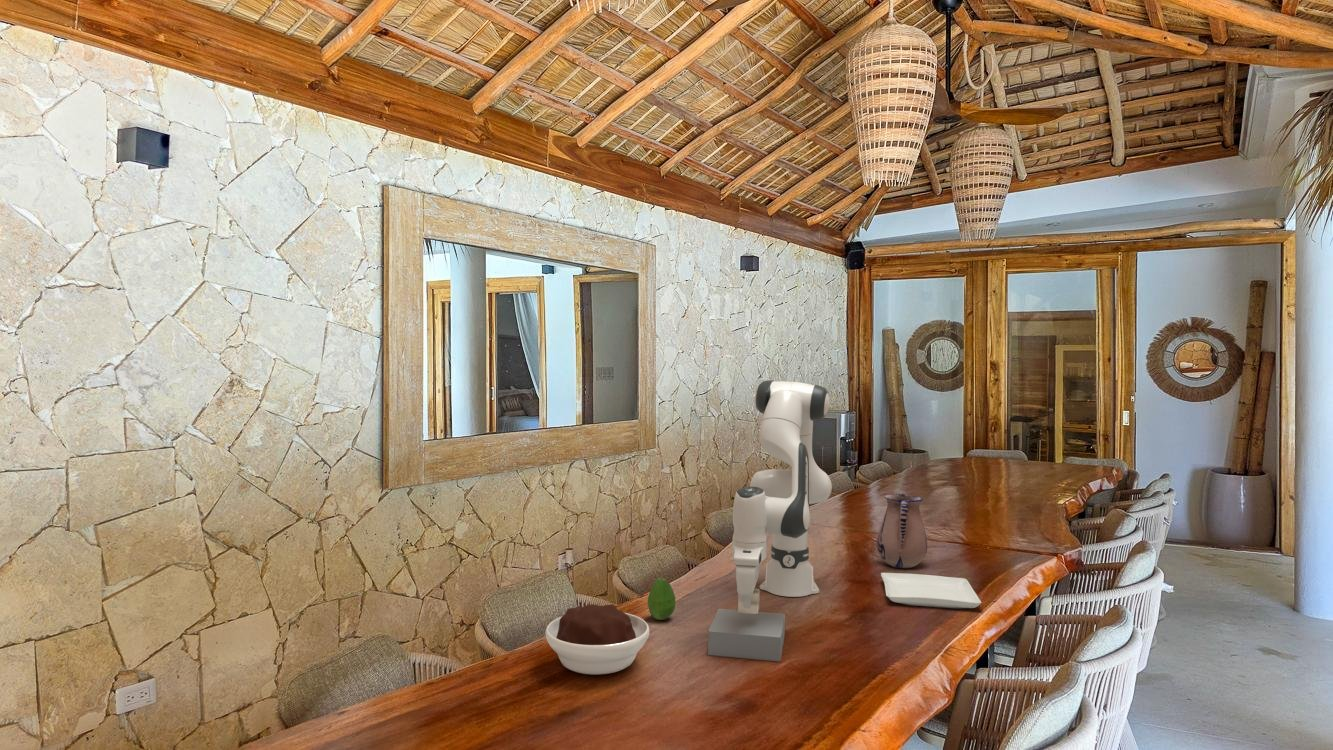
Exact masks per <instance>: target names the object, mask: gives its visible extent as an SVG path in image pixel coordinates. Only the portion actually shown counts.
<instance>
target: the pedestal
mask: <svg viewBox="0 0 1333 750" xmlns="http://www.w3.org/2000/svg"><path fill="white" fill-rule="evenodd" d="M785 628H786V613H778V612H777V613H776V612H765V611H764V612H763V611H758V614H750V613H738V609H730V608H729V609H726V608H718V609H717V611H716V614H715V616H714V618H713V620H712V622H711V625H710V626H709V629H708V632H707V633H708V634H707V637H708V639H707V641H708V642H707V649H708V650H707V655H708V656H716V657H726V658H727V657H728V658H737V659H738V658H739V659H750V660H760V661H769V662H771V661H772V662H781V660H782V659H781V658H782V655H783V647H784V642H785V637H786V635H785V634H786V633H785V631H786V629H785Z"/></svg>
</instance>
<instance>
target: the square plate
mask: <svg viewBox="0 0 1333 750" xmlns="http://www.w3.org/2000/svg"><path fill="white" fill-rule="evenodd" d="M880 576H881V579H882V581H883V584H884V591H885V596H886V597H887V598H888V599H889V600H890V601H891V602H894V603H898V604H902V605H908V606H916V607H918V606H920V607H931V608H932V607H934V608H947V609H974V608H977V607H979V605H981V604H982V601H981V599H980V598H979V596H978V594H977V593H976V591H975V589H973V587H972V585H971V584H970V582H969V581H968V579H966V578H964V577H951V576H941V575H934V574H933V575H931V574H918V573H904V572H903V573H902V572H901V573H898V572H896V573H894V572H880Z"/></svg>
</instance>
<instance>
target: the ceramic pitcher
mask: <svg viewBox="0 0 1333 750" xmlns="http://www.w3.org/2000/svg"><path fill="white" fill-rule="evenodd" d="M884 498H885V499H886V502H887V503H886V504H887V506H886V511H885V513H884V516H883V519H882V521H881V525H880V527H879V530H878V533H877V536H876V549H877V552H878V553H879V555H880V558H881V559H882V561H883V562H884V563H886V564H887V565H888V566H891V567H893V568H897V569H898V568H899V569H911V568H914V567H916V566H918V565H920V563H922V561H923V560H924V559H925V557H926V555H927V552H928V537H927V534H926V529H925V525H924V523H923V522H924V521H923V518H922V514H921V511H920V505H921V502H922V501H923V500H924V499H923V498H922V497H920V496H916V495H907V494H905V493H898V494H885V495H884Z"/></svg>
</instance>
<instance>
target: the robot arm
mask: <svg viewBox="0 0 1333 750" xmlns="http://www.w3.org/2000/svg"><path fill="white" fill-rule="evenodd" d="M830 401H831V400H830V397H829V391H828V390H827V389H826V387H824V386H822V385H818V384H810V383H806V382H805V383H804V382H801V381H783V380H782V381H780V380H779V381H777V380H776V381H774V380H773V379H772V380H771V379H769V380H763V381H762V382H760V383H759V385H758V386H757V389H756V390H755V396H754V403H755V407H756V410H758V412H759V413H761V414H763V416H762V419H761V424H760V428H759V438H758V439H759V443H760V444H761V446H762V448H763V450H765V452H766V453H768V454H769V455H770V456H771V457H773V458H775V459H777V460H778V461H781V462H784V463H785V464H786V465H788V466H790V467H791V468H788V469H786V468H785V469H784V468H775V469H774V468H769V469H763V470H760V471H756V472H755V473H754V475H752V477H751V480H750V485H749V486H745V487H741V488H739V489H737V490H736V492H735V495H734V499H733V506H732V507H733V509H732V525H733V534H732V548H731V550H732V552H731V554H732V555H731V556H732V558H733V560H732V561H733V565H734V566H735V579H736V591H737V596H738V595H739V596H743V601H744V608H750V607H751V596H752V595H753V592H754V589H756V585H757V582H758V579H759V576H760V566H761V565H762V562H763V561H764V560H766V559H767V543H768V542H767V535H766V534H772V545H771V547H770V557H771V558H770V560H769V561H768V562H767V563H766V564H765V565H766V566H765V580H764V581H763V582H761V584H759V590H763V591H766V592H768V593H771V594H773V595H776V596H780V597H781V596H782V597H790V598H792V597H793V598H797V597H806V596H808V595H809V596H810V595H813V594H819V593H820V589H819V587H818V585H817V583H816V582H815V580H814V579H815V577H814V566H812V563H811V562H810V561H809V558H810V549H809V547H808V540H809V539H808V538H809V533H808V531H809V529H810V525H811V511H810V510H811V509H810V505H813V504H818V503H824V502H827V500H828V499H829V498H830V496H831V494H832V489H833V488H832V486H833V484H832V481H831V478H830V476H829V475H828V473H826V472H825V471H824V470H823V469H821V468H820V467H819V466H818V464H817V463H816V461H815V458H814V455H813V454H814V453H813V433H814V432H813V431H814V429H813V428H814V421H819V420H820V421H821V420H822V419H823V418H825V417H826V415H827V413H828V411H829V408H830V404H831V402H830Z"/></svg>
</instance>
